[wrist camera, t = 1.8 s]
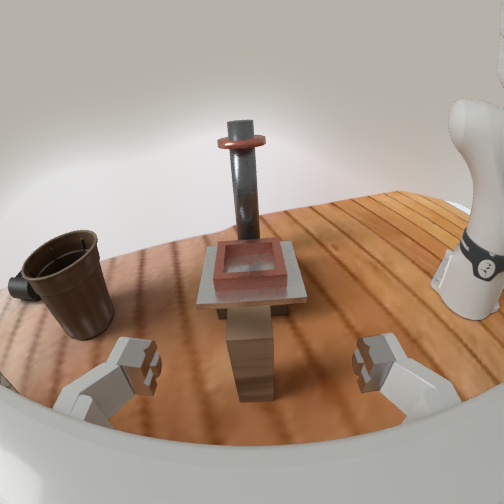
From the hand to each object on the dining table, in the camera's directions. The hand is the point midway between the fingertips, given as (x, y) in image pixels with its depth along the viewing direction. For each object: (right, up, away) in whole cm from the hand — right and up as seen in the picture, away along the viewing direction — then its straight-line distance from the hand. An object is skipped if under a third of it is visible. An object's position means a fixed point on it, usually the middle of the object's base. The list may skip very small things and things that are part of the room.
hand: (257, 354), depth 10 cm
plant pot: (-33, -10, +37) cm, 50 cm away
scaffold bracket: (0, -2, +45) cm, 45 cm away
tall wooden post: (0, -15, +24) cm, 28 cm away
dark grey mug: (-58, -8, +42) cm, 72 cm away
